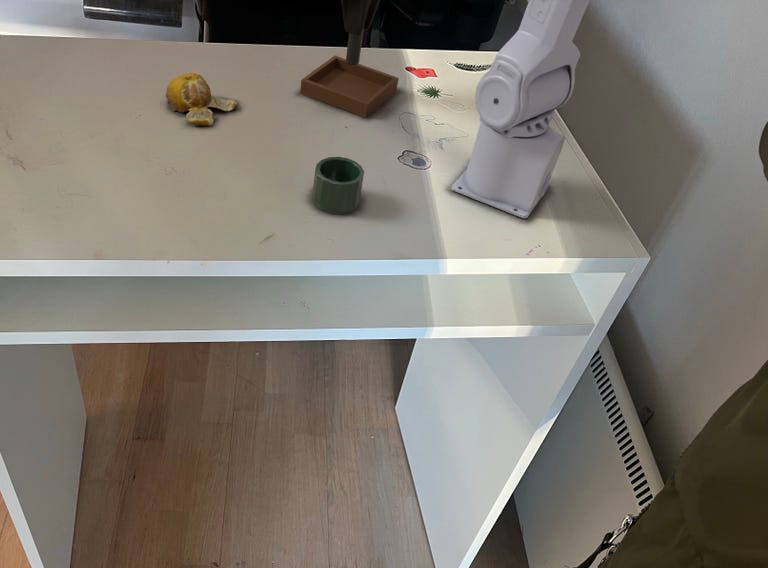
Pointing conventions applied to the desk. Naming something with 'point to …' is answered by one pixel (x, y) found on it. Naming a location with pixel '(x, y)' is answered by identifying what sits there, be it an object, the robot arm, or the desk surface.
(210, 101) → the fruit
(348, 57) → the marker
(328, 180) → the green hollow cylinder
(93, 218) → the desk surface
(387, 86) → the brown tray
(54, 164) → the desk surface
